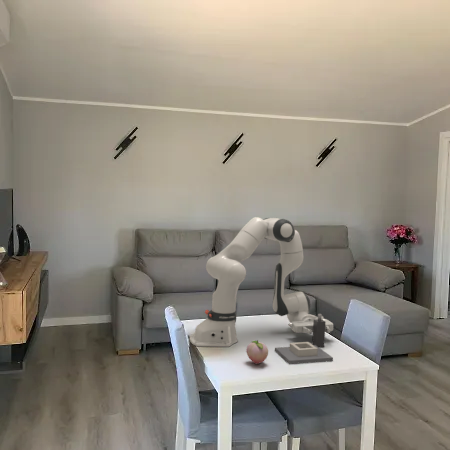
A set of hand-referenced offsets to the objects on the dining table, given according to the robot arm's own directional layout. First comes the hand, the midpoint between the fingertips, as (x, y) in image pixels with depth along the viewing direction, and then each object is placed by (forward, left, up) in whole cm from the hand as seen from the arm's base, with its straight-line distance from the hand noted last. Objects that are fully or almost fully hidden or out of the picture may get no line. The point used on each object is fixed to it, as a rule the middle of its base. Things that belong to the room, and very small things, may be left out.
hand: (319, 331), depth 216 cm
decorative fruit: (-36, -15, -7) cm, 40 cm away
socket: (-13, -10, -7) cm, 18 cm away
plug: (0, +1, -7) cm, 7 cm away
